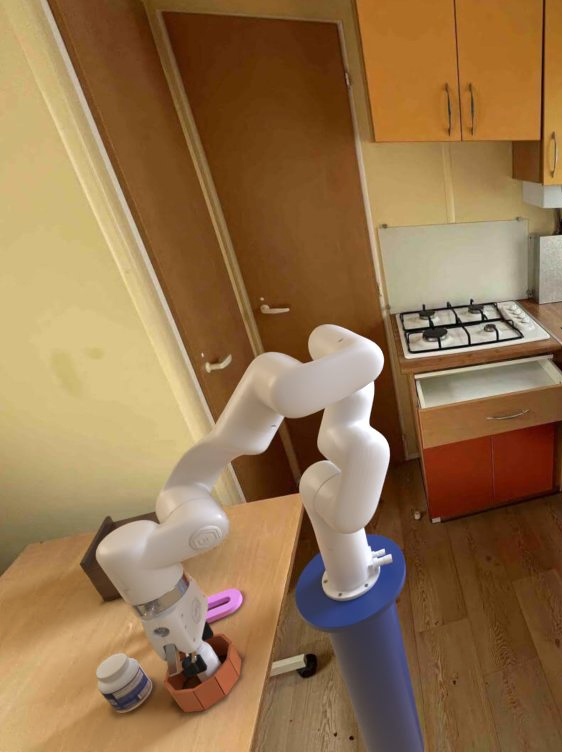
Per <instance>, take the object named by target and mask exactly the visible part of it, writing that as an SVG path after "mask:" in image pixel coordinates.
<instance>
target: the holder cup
mask: <svg viewBox="0 0 562 752" xmlns="http://www.w3.org/2000/svg"><path fill="white" fill-rule="evenodd" d="M204 642H207V643H208V644H209V645H210V646H211V647H212V649H213V651H214V652H215V654H216V656H217V657H220V656H226V659H225V660H224V661H223V663H221V664H222V665H221V667H220V668H219V669H218V671H217V672H216V673H215V675H214V676H213V677H211V678H209V679H208V680H206V681H205V682H203V683H202V682H201V683H200V684H198V685H197V686H195V687H194V688H184V689H183V687H184V684H185V682H186V681H187V680H188V678H185V677H184V676H183V674H182V673H181V672H180V673H179V674H176V675H173V676H171V677H169V674H168V668H167V669H166V673H165V677H164V680H163V685H164V686H165V688H166V689H167V691H168V693H169V694H170V695H171V697H172V698H173V699H174V701H175V703H176V704H177V705H178V706H179V707H180V708H181V709H182V711H183V712H185V713H191V712H192V713H193V712H201V711H205V710H207V709H209V708H211V707H212V706H213V705H215V704H216V703H218V702H219V701H221V700H222V699H224V698H225V697H226V696H227V695H228V693H229V692H230V691H231V689H232V688H233V687H234V686H235V684H236V683H237V681H238V680H239V679H240V678H239V677H240V675H241V669H242V668H241V667H242V659H241V656H240V654H239V653H238V650H237V649H236V647H235V645H234V643H233V641H232V640H231V639H230V638H229V637H227V635H225V634H224V633H222V632H220V633H214V635H213V637H212V638H210V639H207V640H205V641H204ZM179 656H180V659H182V658H185V657H186V653H182V654H179Z"/></svg>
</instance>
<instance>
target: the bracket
mask: <svg viewBox="0 0 562 752" xmlns="http://www.w3.org/2000/svg"><path fill="white" fill-rule="evenodd" d="M206 598H207V600H208V610H207V615H206V620H205V621H207V622H208V624H210V623H213V622H215V621H217V620H220V619H222V618H225V617H228V616H229V615H231V614H233V613H234V612H236V611H237V610H238V609H239V608H240V606H241V605H242V603H243V595H242V593H241V591H240V590H239V589H238V588H228V589H225V590H222V591H220V592H218V593H215V594H212V595H210V596H206ZM226 602H227V603H226ZM214 607H215V608H214Z"/></svg>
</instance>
